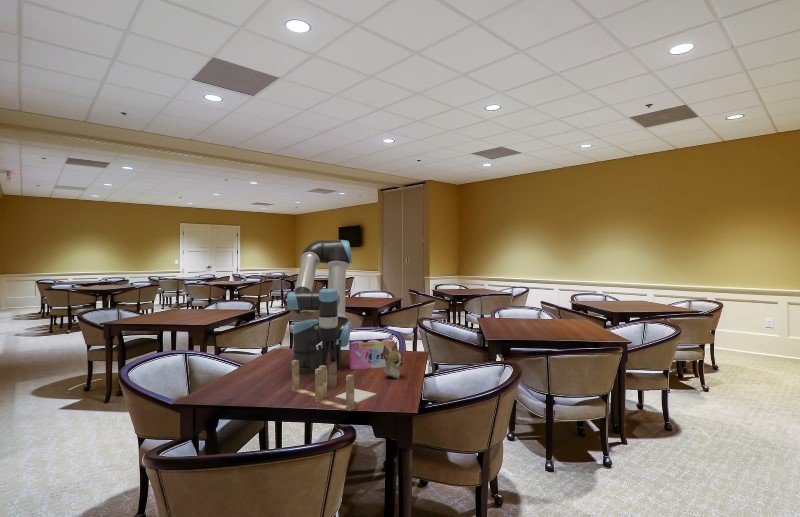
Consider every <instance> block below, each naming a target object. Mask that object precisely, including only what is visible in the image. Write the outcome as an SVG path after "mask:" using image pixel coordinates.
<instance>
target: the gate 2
mask: <svg viewBox="0 0 800 517" xmlns="http://www.w3.org/2000/svg"><path fill="white" fill-rule="evenodd" d="M314 386H315V387H314V393H315V397H314V399H315V400H314V402H315V403H318V404H319V403H320V404H322V405H326V406H329V407H334V408H338V409H342V410H344V411H349V412H351V411H353V410H355V402H354V389H355V375H354V374H347V375H346V376H345V392H346V400H345V404H342V403H337V402H334V401H330V400H326V399H324V398H323V369H320V368H318V369H315V373H314Z"/></svg>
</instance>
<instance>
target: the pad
mask: <svg viewBox="0 0 800 517" xmlns="http://www.w3.org/2000/svg"><path fill="white" fill-rule="evenodd" d="M376 395H377V393H375V392H371V391H368V390H367V391H366V390H362V389H359V388H354V403H356V404H357V403H358V404H359V403H360V402H361V403H362V402H363V401H365V400H367V399H369V398H373V397H375V396H376ZM334 398H336V399H341V400H344V401H346V391H345V392H343V393H340V394H337V395H335V397H334Z"/></svg>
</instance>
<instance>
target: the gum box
mask: <svg viewBox="0 0 800 517" xmlns="http://www.w3.org/2000/svg"><path fill="white" fill-rule="evenodd" d="M395 343H396V341H395V340H394V339H393V337H389V338H388V337H385V338H369V339H368V338H367V339H349V343H348V350H349V351H348V352H349V353H348V356H349V357H348V360H349V361H348V362H349V366H348V367H349V368H350V370H352V369H353V370H363V369H364V370H365V369H368V368H369V369H378V368H379V369H380V368H381V369H382V367H383V368H386V366H385V358H384V356H383V349H384V346H386V347H387V348H388V349H389V351H392V347H393V345H394V344H395Z"/></svg>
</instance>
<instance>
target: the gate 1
mask: <svg viewBox="0 0 800 517" xmlns="http://www.w3.org/2000/svg"><path fill="white" fill-rule="evenodd" d="M291 361H292V360H291ZM319 368H320V369H323V399H325V398H327V397H328V393H327V392H328V391H327V390H328V388H327V366H325V365H322V366H319ZM291 391H292V392H295V393H300V394H303V395H307V396H312V397H314V398H315V391H314V392H313V391H309V390H305V389H301V388H300V374H299V360H293V361H292V373H291Z"/></svg>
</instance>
